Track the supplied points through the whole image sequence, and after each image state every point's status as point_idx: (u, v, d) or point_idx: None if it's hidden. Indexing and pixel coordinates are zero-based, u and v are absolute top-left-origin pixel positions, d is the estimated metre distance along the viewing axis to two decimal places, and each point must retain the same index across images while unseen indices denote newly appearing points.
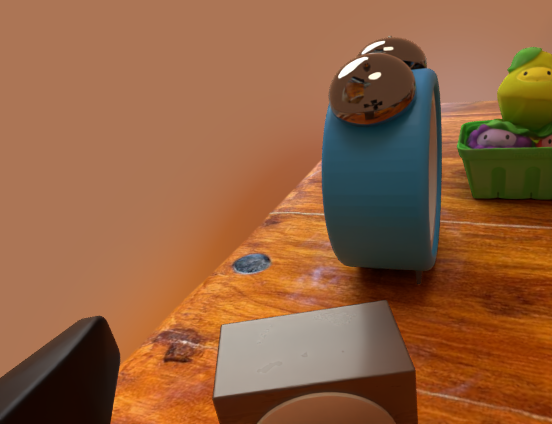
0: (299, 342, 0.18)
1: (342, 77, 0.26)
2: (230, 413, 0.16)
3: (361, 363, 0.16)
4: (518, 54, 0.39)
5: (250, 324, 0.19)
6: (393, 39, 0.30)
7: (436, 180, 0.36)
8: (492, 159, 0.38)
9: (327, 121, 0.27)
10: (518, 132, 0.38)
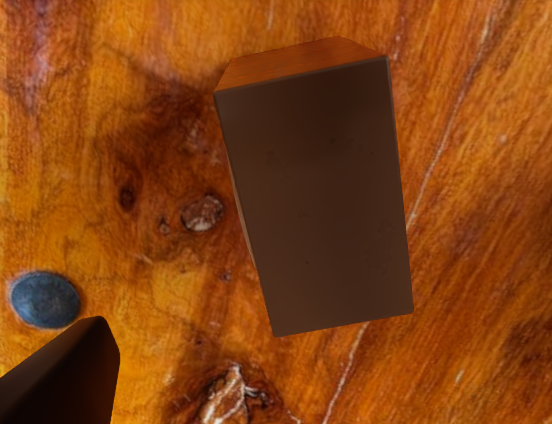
0: (328, 203, 0.12)
1: None
2: None
3: (285, 284, 0.13)
4: None
5: (380, 115, 0.11)
6: None
7: None
8: None
9: None
10: None
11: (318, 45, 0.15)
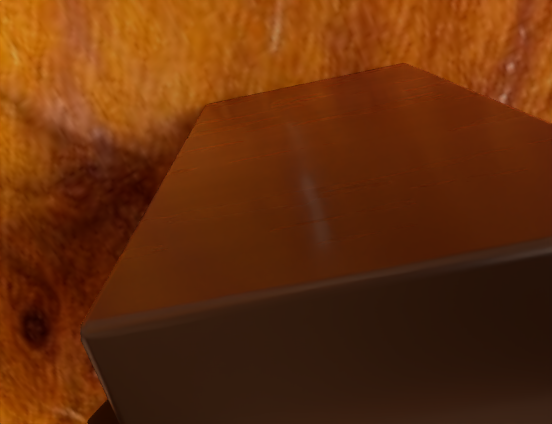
0: None
1: None
2: None
3: None
4: None
5: None
6: None
7: None
8: None
9: None
10: None
11: (376, 89, 0.07)
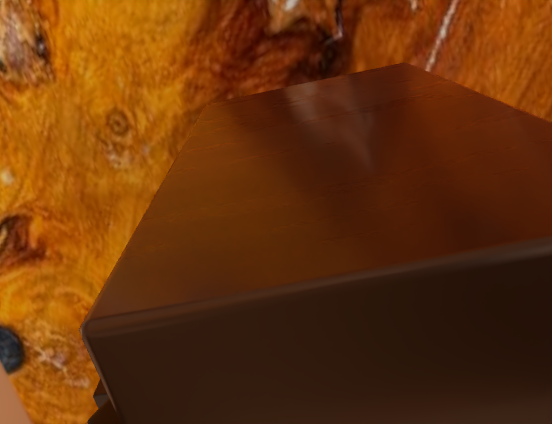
0: None
1: None
2: None
3: None
4: None
5: None
6: None
7: None
8: None
9: None
10: None
11: (377, 88, 0.07)
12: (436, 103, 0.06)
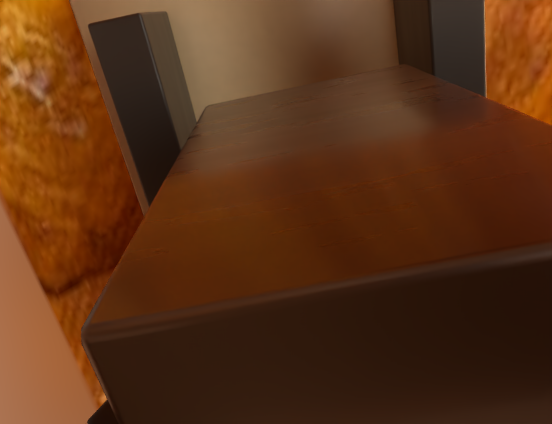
0: None
1: None
2: None
3: None
4: None
5: None
6: None
7: None
8: None
9: None
10: None
11: (377, 90, 0.07)
12: (436, 106, 0.06)
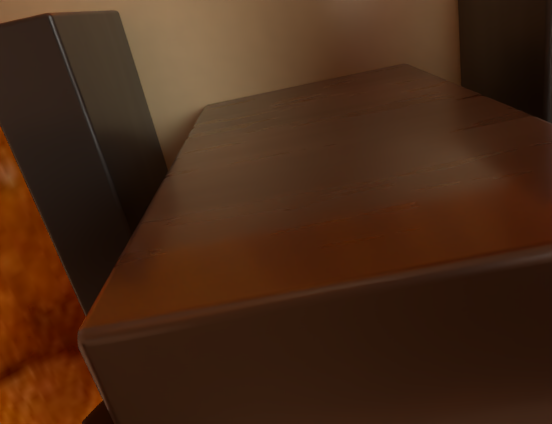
0: None
1: None
2: None
3: None
4: None
5: None
6: None
7: None
8: None
9: None
10: None
11: (377, 89, 0.07)
12: (436, 105, 0.06)
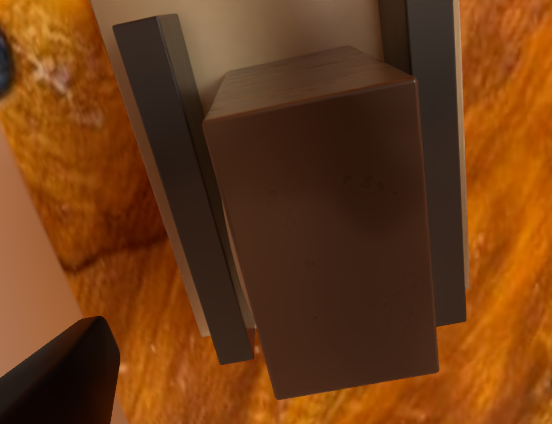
0: (341, 251, 0.10)
1: None
2: None
3: (288, 342, 0.11)
4: None
5: (405, 148, 0.09)
6: None
7: None
8: None
9: None
10: None
11: (326, 57, 0.13)
12: (349, 61, 0.12)
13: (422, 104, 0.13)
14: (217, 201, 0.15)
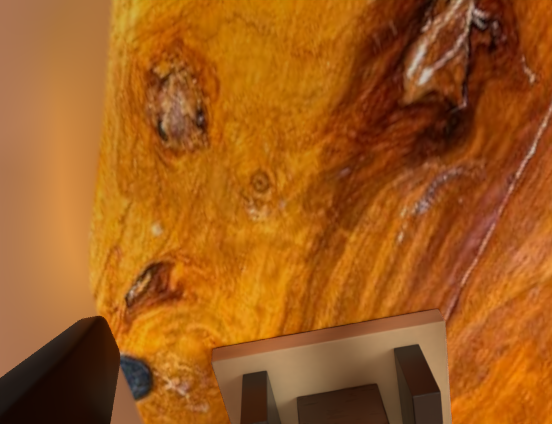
0: None
1: None
2: None
3: None
4: None
5: None
6: None
7: None
8: None
9: None
10: None
11: (364, 418, 0.21)
12: None
13: None
14: None
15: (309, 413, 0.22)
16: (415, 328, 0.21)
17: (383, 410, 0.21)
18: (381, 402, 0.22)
